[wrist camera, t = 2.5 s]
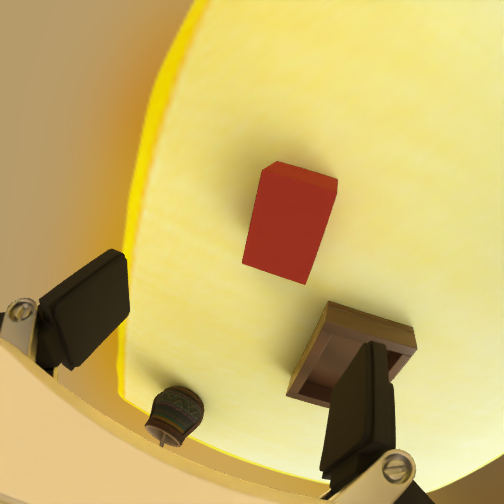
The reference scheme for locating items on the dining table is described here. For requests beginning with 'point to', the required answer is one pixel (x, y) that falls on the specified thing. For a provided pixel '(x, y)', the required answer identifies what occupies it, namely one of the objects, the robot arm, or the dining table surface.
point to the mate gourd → (174, 415)
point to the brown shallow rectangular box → (345, 350)
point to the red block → (289, 220)
